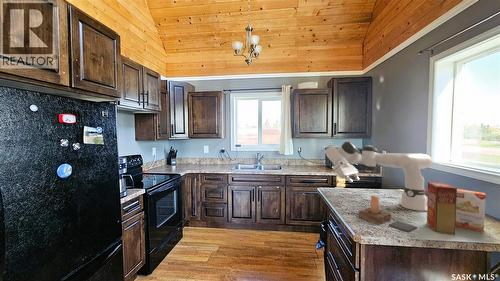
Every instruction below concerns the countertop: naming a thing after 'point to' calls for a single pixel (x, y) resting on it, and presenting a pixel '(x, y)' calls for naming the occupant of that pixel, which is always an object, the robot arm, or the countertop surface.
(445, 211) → the food packaging
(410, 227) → the rubber mat
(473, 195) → the cracker box
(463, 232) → the countertop surface
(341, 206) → the countertop surface
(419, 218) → the countertop surface
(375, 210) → the peg
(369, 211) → the pocket block
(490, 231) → the countertop surface
